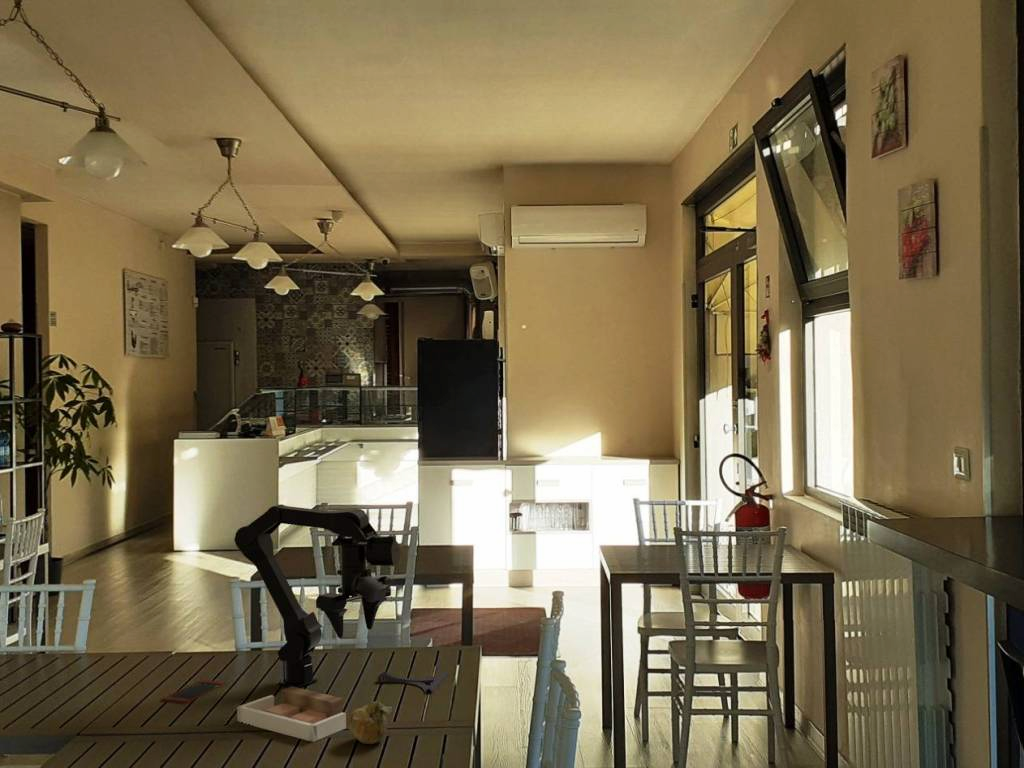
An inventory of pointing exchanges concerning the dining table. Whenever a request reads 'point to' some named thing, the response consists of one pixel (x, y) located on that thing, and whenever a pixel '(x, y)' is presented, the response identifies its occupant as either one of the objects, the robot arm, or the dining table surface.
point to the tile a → (284, 710)
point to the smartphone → (193, 691)
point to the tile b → (310, 716)
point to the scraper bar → (312, 701)
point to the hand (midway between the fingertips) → (355, 633)
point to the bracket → (415, 680)
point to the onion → (369, 722)
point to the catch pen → (288, 721)
